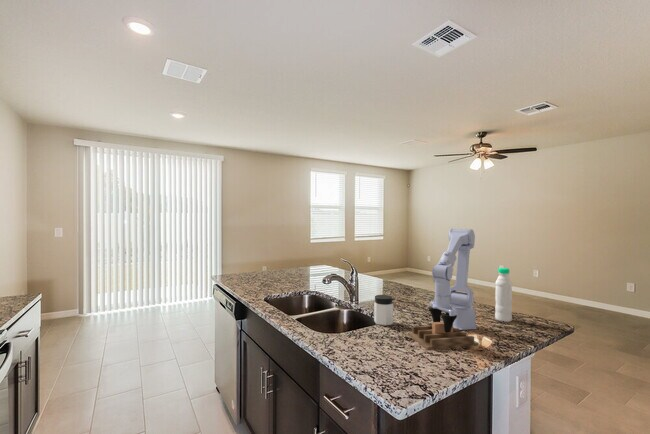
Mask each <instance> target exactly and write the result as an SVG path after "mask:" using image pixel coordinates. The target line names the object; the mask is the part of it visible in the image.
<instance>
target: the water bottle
mask: <svg viewBox="0 0 650 434" xmlns="http://www.w3.org/2000/svg"><path fill="white" fill-rule="evenodd" d="M497 273H498V277H497V279H496V280H495V282H494V284H495V293H494V294H495V296H494V298H495V308H494V309H495V312H494V313H495V314H494V318H495V320H496V321H499V322H503V321H504V323H510V322H512V320H513V313H512V312H513V308H512V307H513V306H512V303H513V289H512V287H513V283H512V281H511V278H510V277H509V275H510V269H509V268H506V267H498V269H497Z"/></svg>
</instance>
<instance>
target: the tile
mask: <svg viewBox="0 0 650 434" xmlns="http://www.w3.org/2000/svg"><path fill="white" fill-rule="evenodd" d="M431 325H432V334H438V333H452V332H453V325H452V328H451V332H445V330H444V322H443V321H440V322H433V321H432V322H431Z"/></svg>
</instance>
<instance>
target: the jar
mask: <svg viewBox="0 0 650 434" xmlns="http://www.w3.org/2000/svg"><path fill="white" fill-rule="evenodd" d="M373 303H374V304H373V305H374V306H373V307H374V308H373V321H374V323H375V324H376V325H379V326H389V325H390V326H391V325H393V324H394V304H393V296H391V295H389V294H377V295H374V302H373Z"/></svg>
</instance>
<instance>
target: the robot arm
mask: <svg viewBox="0 0 650 434" xmlns="http://www.w3.org/2000/svg"><path fill="white" fill-rule="evenodd" d="M475 239H476V236H475V232H474V230H473V229H471V228H469V229H467V228H465V229H463V228H450V229H449V231H448V241H449V242H448V246H447V249H446V251H444V252H443V253H442V254H441V256H440V259H439V260H438V263H437V264H436V265H434V266H433V268H432V272H431V276H432V280H433V283H434V300H431V301H430V302H429V305H430V307H428V311H429V313H430V315H431V318H432V322H441V318H442V322H444V330H445V332H451V328H452V325H453V328H459V331H463V330H464V331H465V330H477V329H478V328H477V327H476V326H477V325H476V323H477V322H476V317H477V316H476V311H475V309H474V308H473V306H474V305H475V303H474V302H475V297H474V290H472V288H470V287H469V286H468V281H469V280H468V279H469V278H468V277H469V264H470V263H469V262H470V253H471V249H474V247H475ZM456 254H457V256H456ZM455 263H456V275H455V284H454V285H452V286H451V279H452V278H453V272H454V267H455V266H454V265H455ZM442 312H444V313H442Z"/></svg>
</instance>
